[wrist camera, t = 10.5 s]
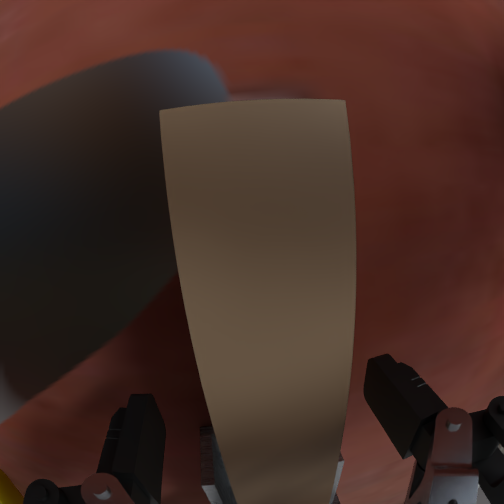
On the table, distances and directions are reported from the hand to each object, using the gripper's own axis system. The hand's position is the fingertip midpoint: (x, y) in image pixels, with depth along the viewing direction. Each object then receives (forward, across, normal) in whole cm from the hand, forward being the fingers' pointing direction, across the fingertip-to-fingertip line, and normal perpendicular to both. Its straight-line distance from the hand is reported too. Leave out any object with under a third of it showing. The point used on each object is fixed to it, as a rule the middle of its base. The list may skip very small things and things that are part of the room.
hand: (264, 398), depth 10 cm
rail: (+3, 0, 0) cm, 3 cm away
